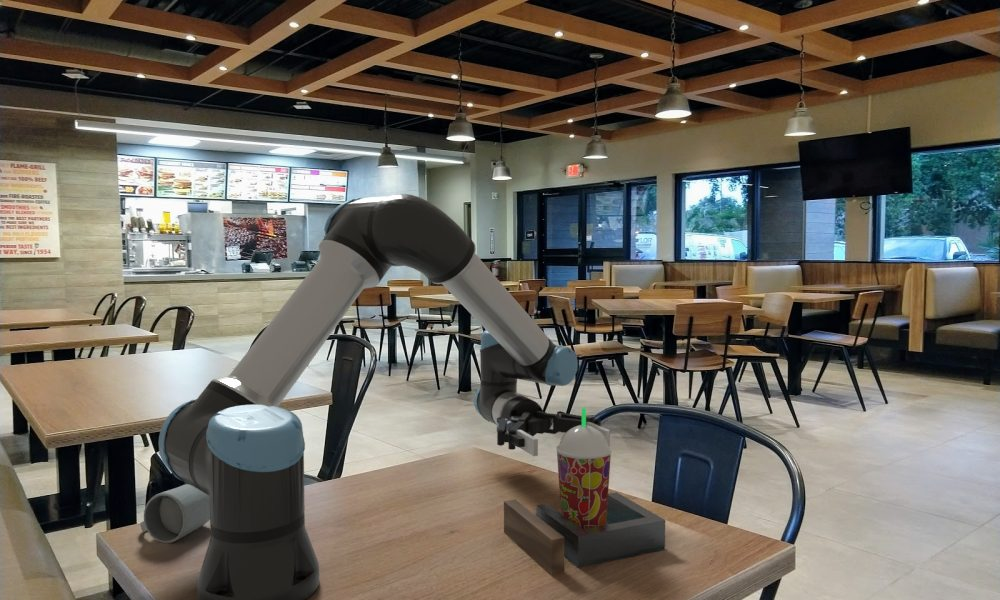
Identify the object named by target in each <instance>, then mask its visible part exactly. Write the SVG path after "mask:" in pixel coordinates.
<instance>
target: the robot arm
mask: <svg viewBox="0 0 1000 600" xmlns="http://www.w3.org/2000/svg"><path fill="white" fill-rule="evenodd" d="M323 231H324V234H325V235H324V236H323V239H322V240H321V241H320V243H319V244H318V251H319V256H320V258H319V259H318V261H317V262H316V263H315V265H314V266H313V267H312V269H310V271H309V272H308V274H307V275H306V276H305V278H304V279H303V280H302V281H301V282H300V283H299V285H298V287H297V288H295V290H294V291H293V293H292V294H291V295H290V296H289V298H288V299H287V300H286V302H285V303H284V305H283V306H282V307H281V308H280V309H279V310H278V312H277V313H276V315H275V316H274V318H272V320H271V321H270V322H269V323H268V325H267V326H266V328H265V329H264V330H263V331H262V332H261V334H260V335H258V338H257V339H256V340H255V342H254V343H253V344H252V345H251V346H250V348H249V349H248V350H247V351H246V353H245V355H244V356H243V357H242V358H241V359H240V360H239V362H238V364H237V365H236V366H235V367H234V368H233V370H232V371H231V373H230V374H229V375H227V376H225V377H218V378H213V379H212V380H210V382H209V383H208V384H207V386H206V387H205V388H204V389H203V391H202V392H201V393H200V394H199V395H198V397H197V398H196V399H192V400H189V401H187V402H184V403H182V404H180V405H179V406H177V407H176V408H174V409H173V410H172V411H171V412H170V413H169V414H168V416H167V417H166V419H165V421H164V422H163V424H162V426H161V428H160V431H159V436H158V450H159V455H160V458H161V461H162V463H163V464H164V465H165V467H166V468H167V469H168V470H169V471H170V472H171V473H172V475H173V476H174V477H175V478H177V479H178V480H179V481H181V482H183V483H184V484H185V485H186V484H189V485H192V486H193V487H195V488H197V489H199V490H200V491H202V492H204V493H206V494H207V495H209V498H210V520H209V523H210V525H209V526H210V529H209V530H210V538H209V542H208V546H207V549H206V551H205V555H204V559H203V562H202V565H201V568H200V570H199V571H200V572H199V574H198V577H197V581H196V600H307V599H309V598H310V597H311V596H312V595H313V594H314V593H315V592H316V591H317V589H318V587H319V585H320V565H319V560H318V558H317V555H316V552H315V549H314V548H313V547H314V546H313V544H312V541H311V539H310V536H309V533H308V531H307V528H306V522H305V521H306V520H305V519H306V515H305V514H306V513H305V509H306V508H305V450H306V442H305V437H304V431H303V424H302V421H301V419H300V418H299V417H298V415H297V414H295V413H294V412H292V411H291V410H290V409H289V410H288V409H287V408H284V407H281V406H280V405H281V404H282V402H283V400H284V399H285V398H286V396H287V395H288V393H289V392H290V391H291V389H292V388H293V387H294V385H296V383H297V382H298V380H299V378H300V377H301V375H302V374H303V373H304V372H305V370H306V369H307V368H308V366H309V365H310V363H311V361H312V360H313V359H314V358H315V356H316V355H317V354H318V352H319V351H320V350H321V348H322V347H323V346H324V344H325V343H326V341H327V340H328V339H329V337H330V336H331V334H332V332H333V331H334V330H335V329H336V327H337V326H338V325H339V323H340V322H341V320H342V319H343V318H344V317H345V315H346V313H347V312H348V311H349V310H350V309H351V306H352V305H353V304H354V302H355V301H356V300H357V298H358V297H359V295H360V294H361V293H362V292H363V291H364V289H370V288H375V287H377V286H378V285H379V284H380V282H381V281H382V280H383V278H384V277H385V276H386V274H387V273H388V271H389V270H390V269H391V268H392V267H407V268H410V269H414V270H415V271H417V272H420V273H422V274H423V275H424V276H425V277H426V278H427V279H428V280H429V281H430V282H431V283H433V284H436V285H442V286H443V287H444V288H445V289H446V290H447V291H448V292H449V293H450V294H451V295H452V296H453V297H454V298H455V299H456V300H457V301H458V302H459V303H460V304H461V306H463V308H464V309H466V310H467V312H468V313H469V314H470V315H471V316H472V317H473V318H474V319H475V320H476V321H477V322H478V323H479V324H480V325H481V326H482V327H483V329H485V330H483V332H482V333H481V336H480V349H479V354H480V356H479V357H480V358H479V359H480V386H479V387H478V389H477V390H476V392H475V395H474V397H473V407H474V409H475V410H476V413H478V414H479V415H480V416H481V417H482V418H483V419H484V420H485V421H487V422H491V423H493V424H494V425H496V434H497V435H496V442H497V443H496V444H497V446H499V447H502V446H505V443H507V444H508V446H507V447H508V450H516V447H517V448H520V449H521V450H523V451H524V452H525V453H528V454H529V455H531V456H532V457H538V456H539V452H538V451H539V439H538V438H537V437H535V435H538V434H540V435H541V434H552V435H556V434H558V433H564V434H565V433H566V432H567V431H568V430H570V429H571V428H573V427H576V426H579V425H582V415H578V414H577V415H576V414H573V413H572V414H571V413H568V412H564V411H561V410H559V411H557V412H556V413H549V412H546V411H544V410H543V408H542V406H541V405H540V404H539V403H538V401H537V402H536V401H535V400H532V399H530V398H528V397H527V396H524V395H522V394H519V393H518V392H517V389H518V385H517V384H518V380H522V381H527V382H532V383H538V384H544V385H547V386H557V387H559V386H560V387H563V386H567V385H569V384H570V383H571V382H572V381H573V380H574V379H575V376H576V374H577V371H578V357H577V354H576V353H575V351H574V350H573V349H572V348H570V347H568V346H564V345H560V344H559V345H556V344H555V343H554V342H553V341H552V340H551V339H550V338H549V336H548V335H547V334H546V333H545V332H544V331H543V330H542V328H541V327H540V326H539V324H537V323H536V322H535V320H533V318H532V317H531V316H530V315H529V314H528V312H527V311H526V310H525V309H524V308H523V307H522V305H521V304H520V303H519V302H518V301H517V300H516V299H515V298H514V297H513V295H512V293H511V292H510V291H508V290H507V289H506V287H505V286H504V285H503V284H502V282H501V281H500V280H499V279H498V278H497V277H496V275H494V273H493V272H492V271H491V270H490V269H489V267H488V266H487V265H486V264H485V263H484V262H483V261H482V260H481V258H480V257H479V256H478V255H477V253H476V249H477V248H476V244H475V242H474V241H473V240H472V239H471V238H470V237H469V235H468V234H467V233H466V232H465V231H464V229H463V228H461V226H459V225H458V223H456V221H454V219H452V217H450V216H449V215H447V214H446V213H445V212H444V211H443V210H441V209H440V208H439V207H437V206H436V205H434V204H433V203H432V202H430V201H428V200H426V199H425V198H422V197H420V196H417V195H413V194H407V193H399V194H398V193H397V194H392V195H391V194H390V195H383V196H382V195H381V196H370V197H369V196H363V197H357V198H353V199H350V200H347V201H344V202H342V203H340V204H339V205H337V206H336V207H335V208H334V209H333V210H332V211H331V213H330V214H329V215H328V218H326V222H325V224H324V229H323ZM601 420H602V419H600V418H595V417H594V416H591V417H587V416H586V425H587V426H591V427H593V428H595V429H597V430H598V431H600V432H601V433H602V434H603V436H604V437H605V439H606V441H607V444H608V446H609V447H610V446H611V430H610V429H608V428H605V427H603V426H602V421H601Z"/></svg>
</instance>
